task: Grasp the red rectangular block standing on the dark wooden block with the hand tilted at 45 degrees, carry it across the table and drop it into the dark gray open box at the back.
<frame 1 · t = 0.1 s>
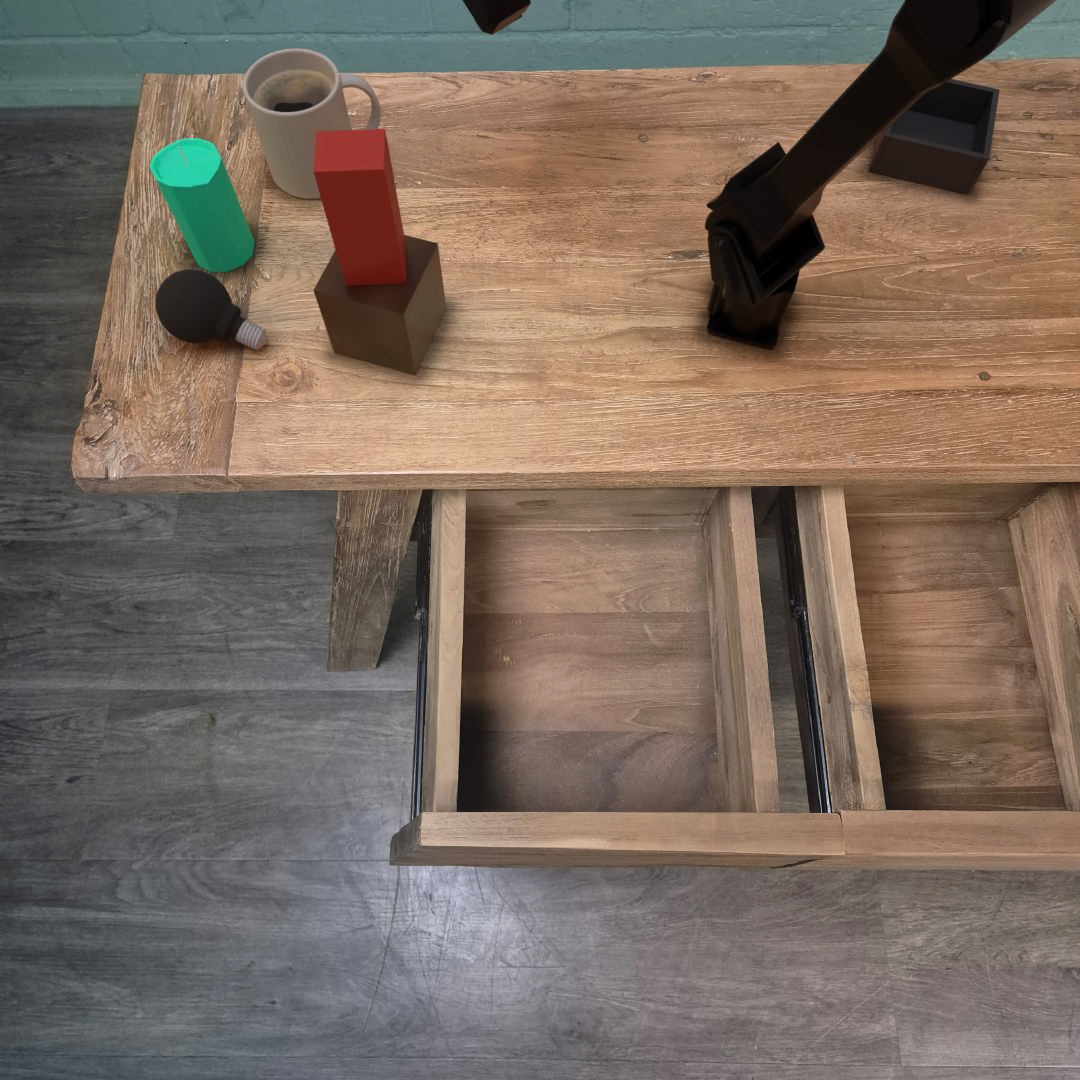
hand: (517, 0, 79), 15 cm above the table, tool tilted 35°, fingers open, 9 cm apart
candle: (224, 249, 86), on the table
light bulb: (220, 331, 82), on the table
mug: (325, 168, 91), on the table
dark wooden block: (391, 330, 82), on the table
dark gray open box: (924, 148, 92), on the table
red rectangular block: (376, 266, 74), point 8 cm above the table, touching dark wooden block
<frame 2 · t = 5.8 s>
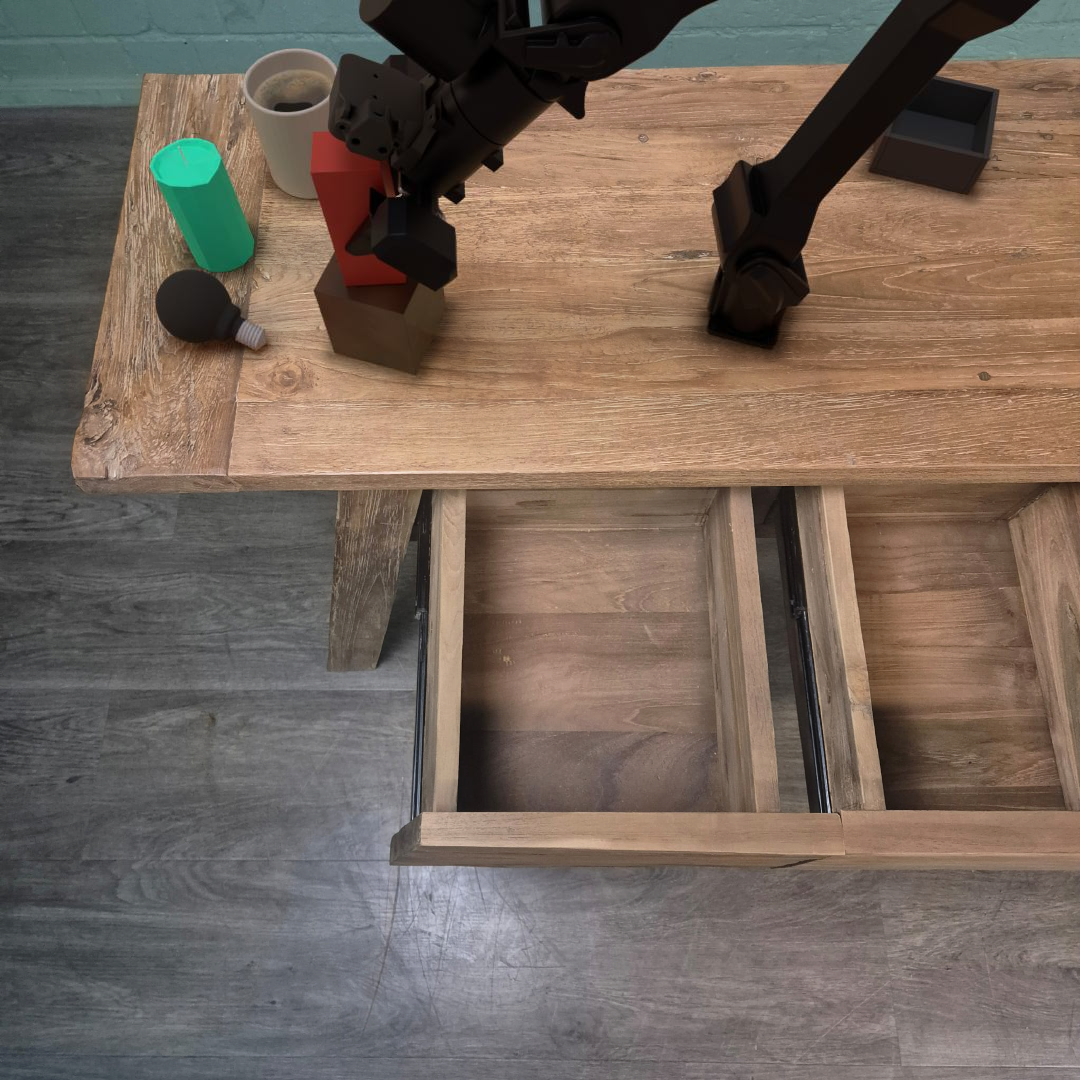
hand: (350, 231, 70), 13 cm above the table, tool tilted 45°, fingers closed on red rectangular block, 4 cm apart
red rectangular block: (376, 266, 74), point 9 cm above the table, touching gripper, dark wooden block
everything else where it was.
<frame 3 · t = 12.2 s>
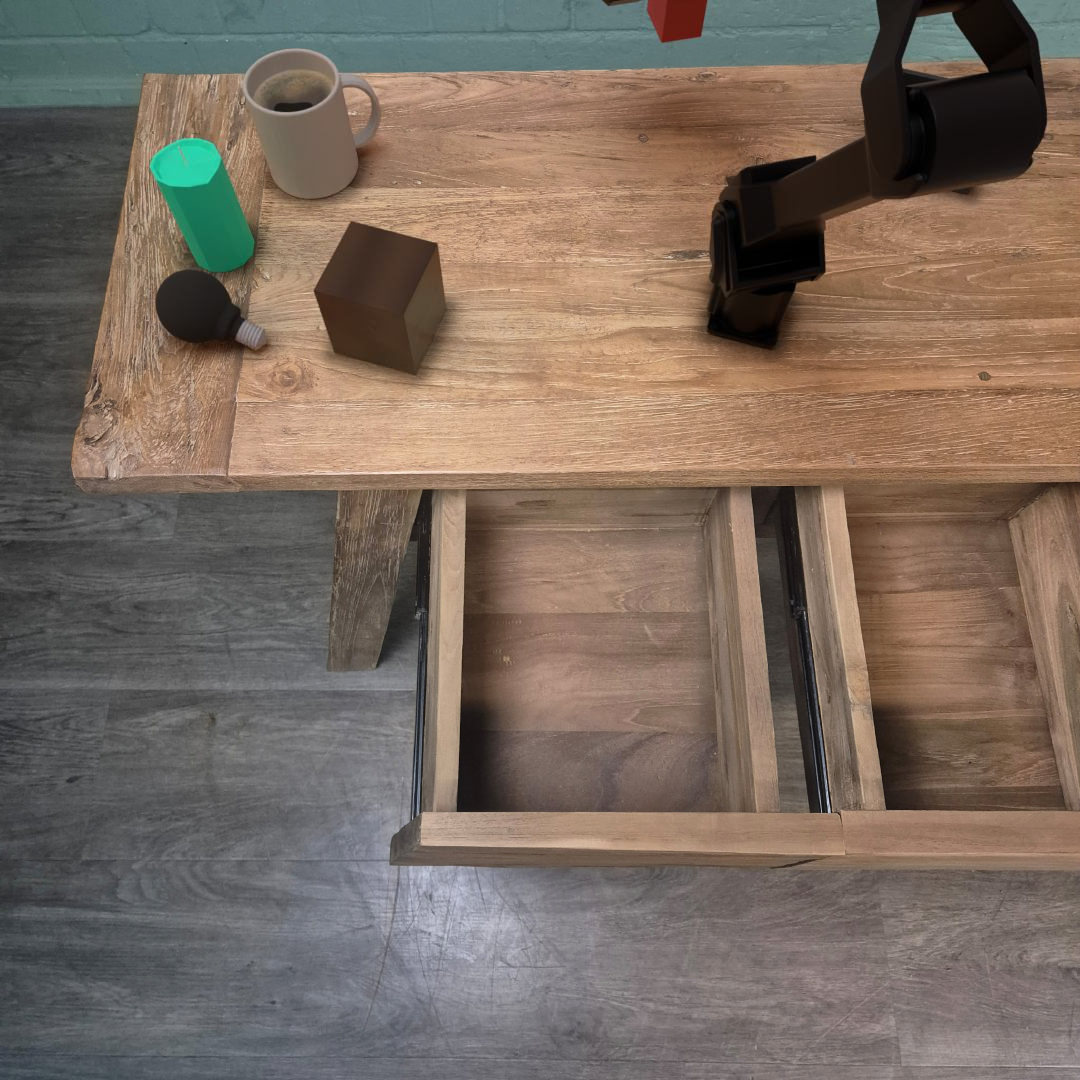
red rectangular block: (673, 23, 86), point 10 cm above the table, touching gripper
everything else where it was.
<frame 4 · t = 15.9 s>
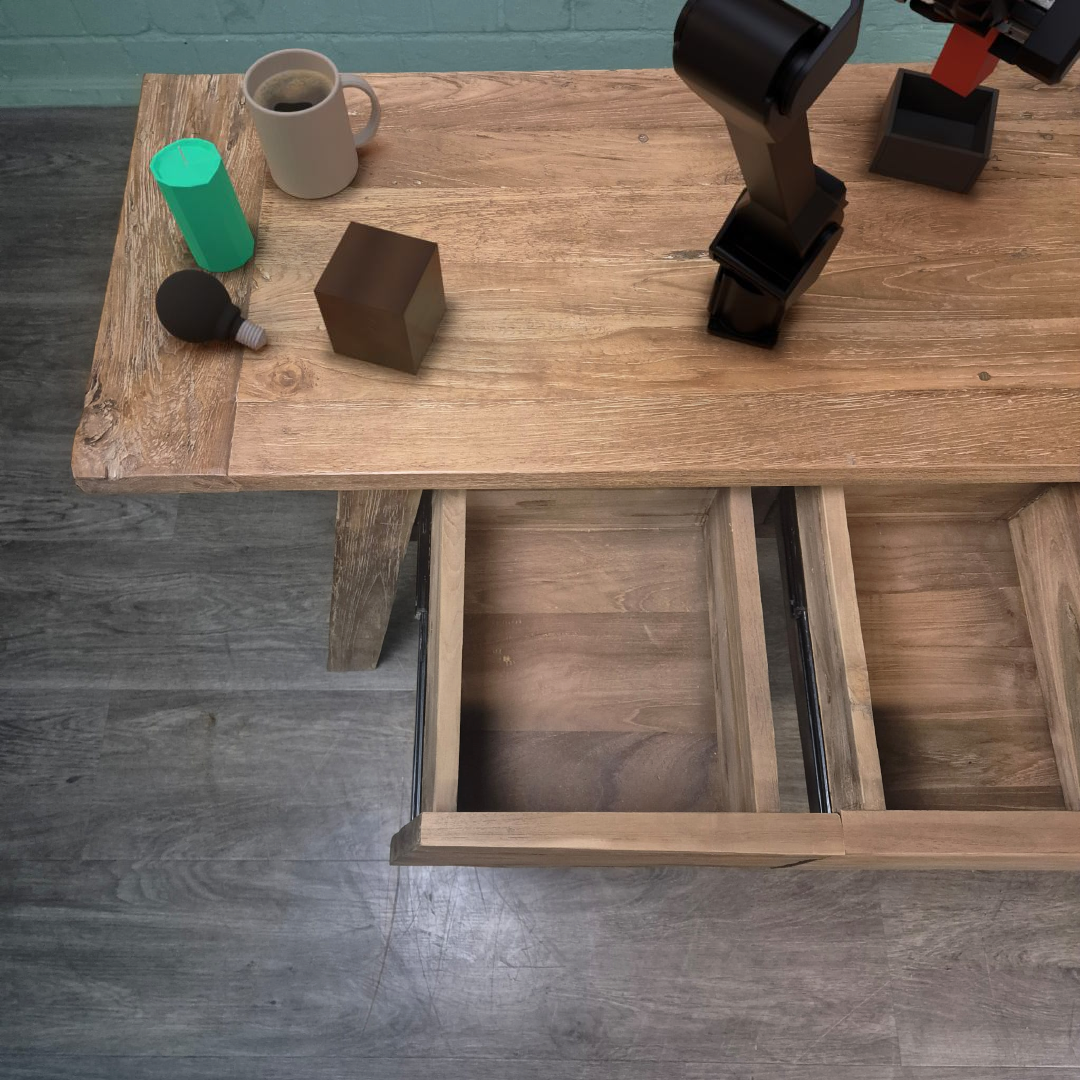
hand: (988, 28, 81), 13 cm above the table, tool tilted 45°, fingers closed on red rectangular block, 4 cm apart
red rectangular block: (961, 74, 84), point 9 cm above the table, touching gripper
everything else where it was.
when the fingers open (5 cm above the table, at t = 18.6 s): red rectangular block stays where it is, resting on dark gray open box.
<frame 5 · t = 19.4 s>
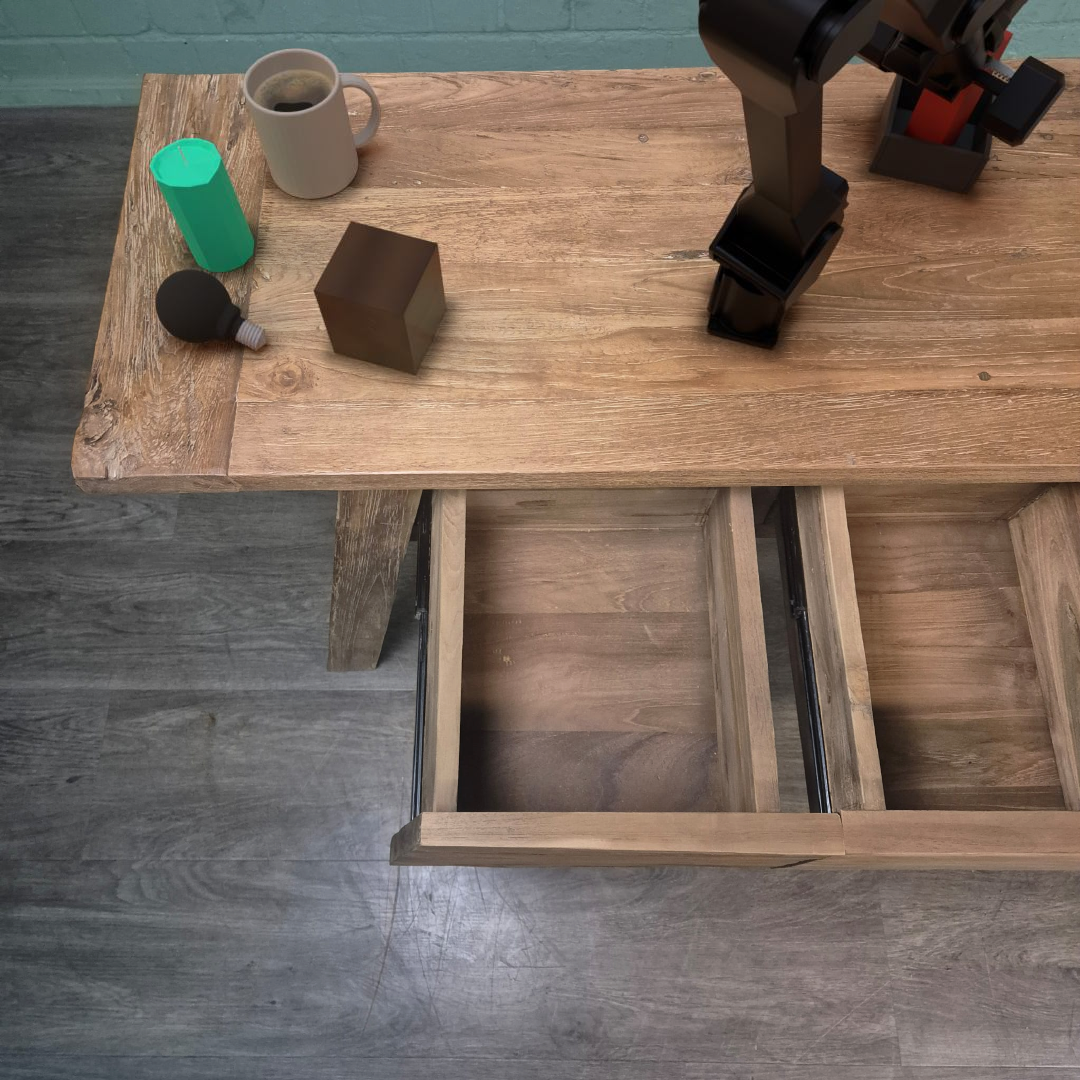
hand: (959, 87, 87), 6 cm above the table, tool tilted 45°, fingers open, 9 cm apart
red rectangular block: (926, 144, 92), resting on dark gray open box
everything else where it was.
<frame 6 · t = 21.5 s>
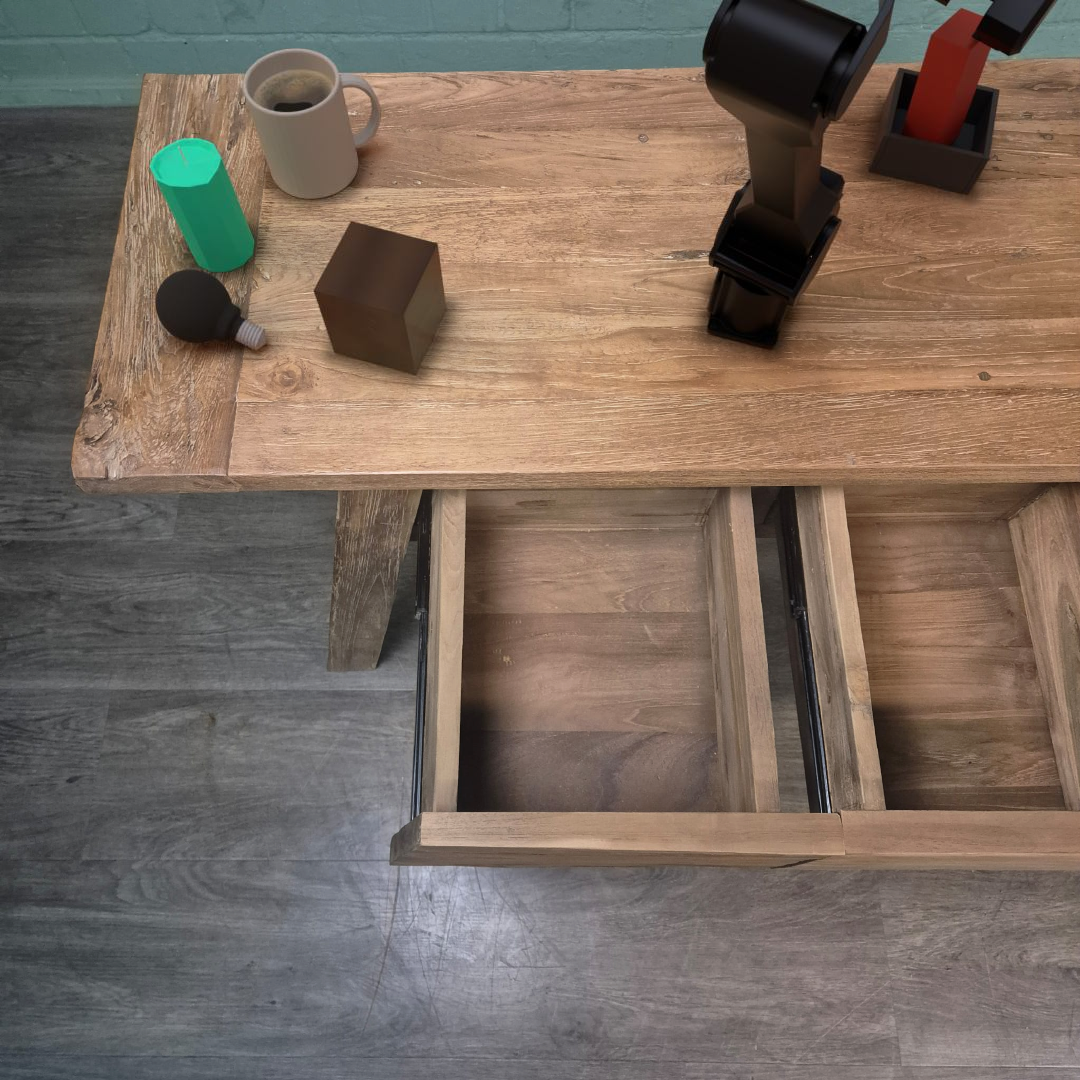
hand: (937, 5, 81), 13 cm above the table, tool tilted 40°, fingers open, 9 cm apart
red rectangular block: (927, 141, 91), point 1 cm above the table, tilted 7°, touching gripper, dark gray open box
everything else where it was.
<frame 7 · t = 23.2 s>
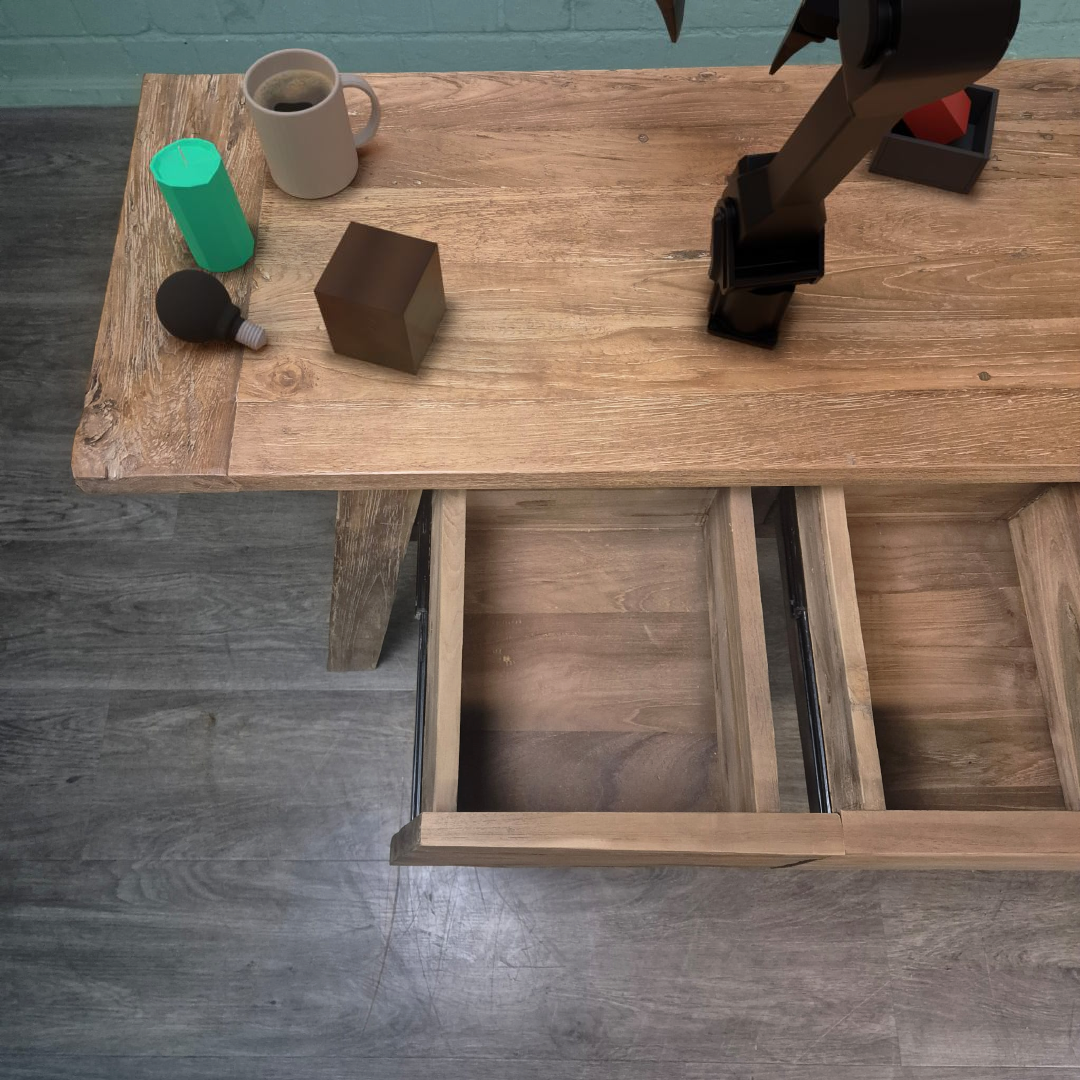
hand: (723, 55, 80), 12 cm above the table, tool pointing down, fingers open, 9 cm apart
red rectangular block: (949, 127, 91), point 2 cm above the table, tilted 50°, touching dark gray open box
everything else where it was.
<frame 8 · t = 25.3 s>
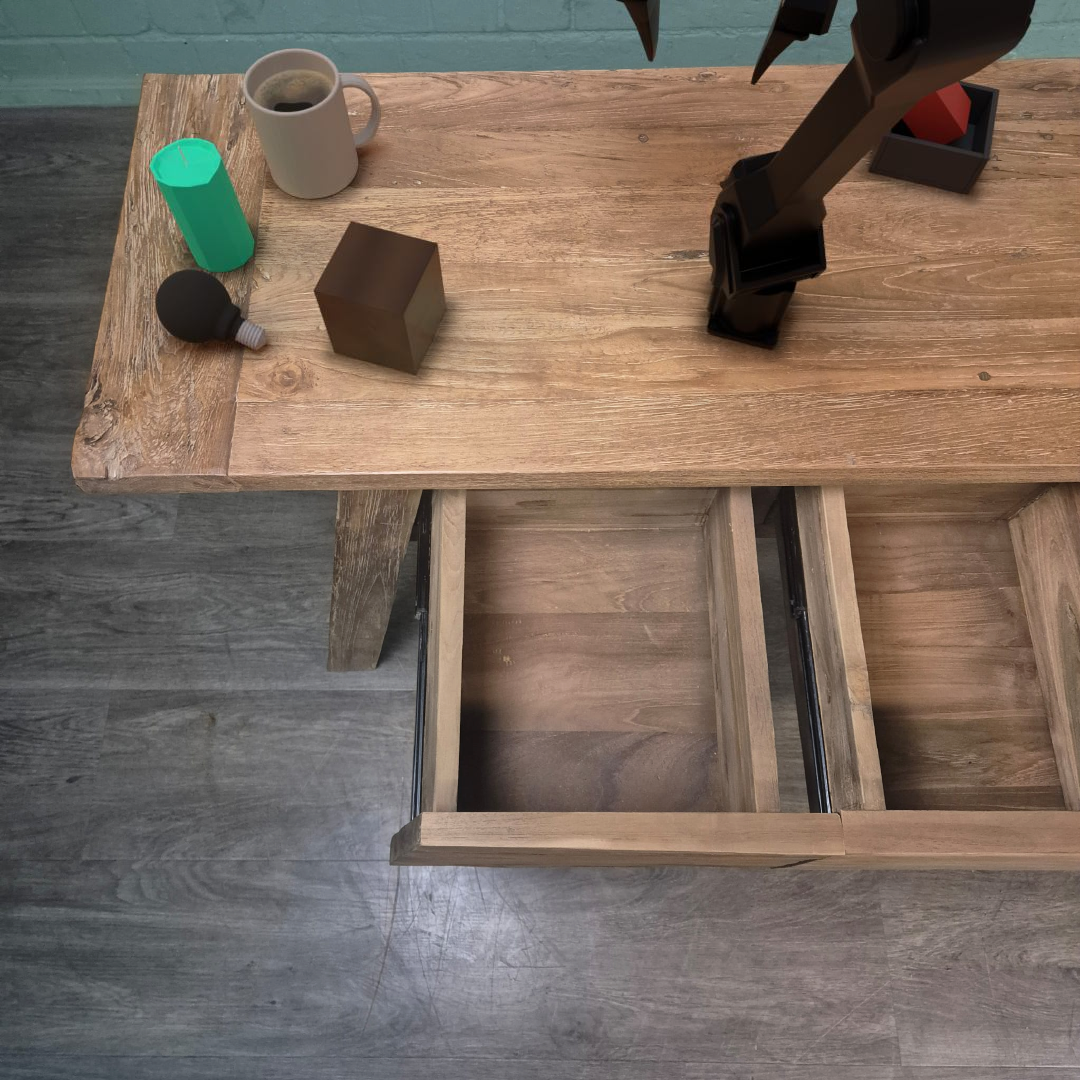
hand: (702, 69, 78), 13 cm above the table, tool pointing down, fingers open, 9 cm apart
nothing on the table moved.
at the end: red rectangular block inside the target area in the dark gray open box (1.9 cm from its centre), point 2.0 cm above the dark gray open box's base; the gripper is holding nothing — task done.
